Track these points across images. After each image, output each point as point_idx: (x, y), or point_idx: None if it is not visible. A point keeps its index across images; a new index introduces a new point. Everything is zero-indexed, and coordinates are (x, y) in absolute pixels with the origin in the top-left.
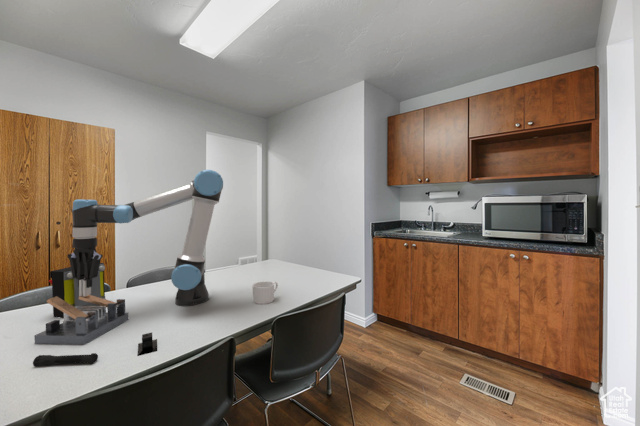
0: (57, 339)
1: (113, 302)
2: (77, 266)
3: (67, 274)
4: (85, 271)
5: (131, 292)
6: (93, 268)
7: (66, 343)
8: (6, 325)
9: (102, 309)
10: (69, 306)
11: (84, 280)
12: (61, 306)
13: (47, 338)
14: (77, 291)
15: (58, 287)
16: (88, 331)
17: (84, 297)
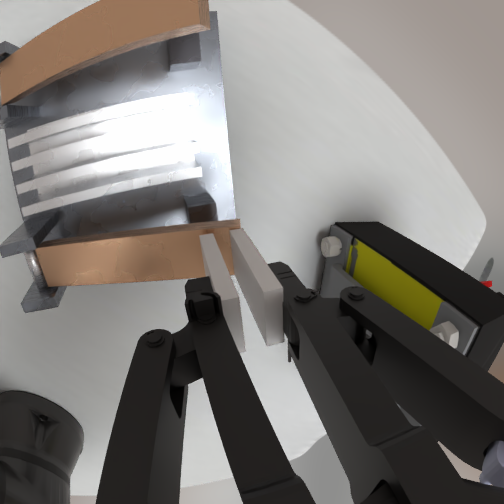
0: None
1: (61, 280)
2: (384, 389)
3: (455, 331)
4: (237, 377)
5: (302, 417)
6: (116, 437)
7: None
8: (440, 150)
9: (36, 200)
10: (74, 48)
11: (203, 291)
12: (93, 8)
13: None
14: None
15: (439, 274)
16: None
17: (203, 233)
